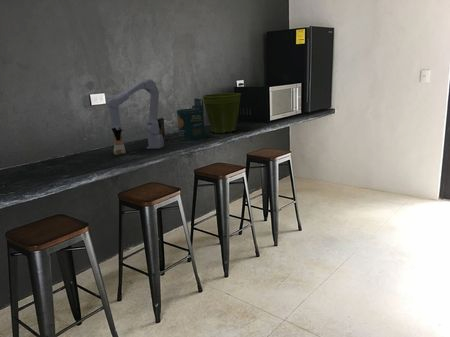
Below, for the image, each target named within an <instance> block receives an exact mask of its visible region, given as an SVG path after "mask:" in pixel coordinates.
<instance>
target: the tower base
mask: <svg viewBox="0 0 450 337" xmlns="http://www.w3.org/2000/svg"><path fill="white" fill-rule="evenodd" d="M112 151H113V154H114V155H122V154H126V148H125V149H123V150H115V149H114V148H113V150H112Z"/></svg>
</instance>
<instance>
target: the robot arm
mask: <svg viewBox="0 0 450 337" xmlns="http://www.w3.org/2000/svg"><path fill="white" fill-rule="evenodd" d="M139 90H145V91H147V92H148V93H149V95H150V101H149V115H148V116H149V117H148V120H147V124H146V125H145V131H146V132H147V142H148V146H147V147H146V149H161V148H163V147H165V144H164V141H163V136H162V134H159V133H158V132H159V130H160V129H159V126H158V124H159V123H158V121H157V118H158V115H159V114H158V112H159V101H160V100H159V99H160V91H159V88H158V86H157V83H156V82H155V81H154V80H153V79H151V78H150V79H149V78H148V79H147V78H145V79H144V78H143V79H142V80H140V81H138V82H137V83H136V84H134V85H133V86H131V88H129V89H128V90H126V91H125V90H123V91H122V90H121V91H119V92H118V94H116V95H114V96H112V98H109V99H108V101H107V107H108V108H109V117H110V119H109V120H110V125H109V128H111V131H112V132H113V135H114V136H115V137H116V140H117V141H120V138H121V136H122V133H123V132H122V131H123V129H121V127H122V122H121V115H120V108H119V107H120V105H122V104H123V103H125V102H126V101H128V100H129V97H130V96H132V95H134V94H135V93H136V92H138V91H139ZM114 136H113V137H114Z"/></svg>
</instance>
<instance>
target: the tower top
mask: <svg viewBox="0 0 450 337" xmlns="http://www.w3.org/2000/svg"><path fill="white" fill-rule="evenodd" d="M113 147H114V148H113V149H115V150H123V149H125V150H126V148H125V144H124V143H123V145H115V143H114V144H113Z"/></svg>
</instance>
